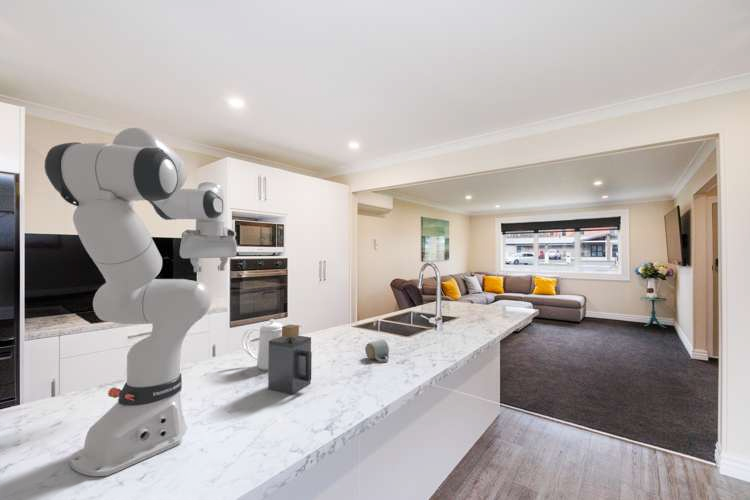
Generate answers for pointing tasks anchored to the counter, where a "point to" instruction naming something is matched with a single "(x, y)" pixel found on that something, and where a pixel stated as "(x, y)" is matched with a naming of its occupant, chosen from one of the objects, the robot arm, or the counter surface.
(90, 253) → the robot arm
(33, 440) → the counter surface
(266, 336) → the coffeepot
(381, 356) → the ceramic mug
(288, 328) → the plunger
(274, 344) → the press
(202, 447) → the counter surface
